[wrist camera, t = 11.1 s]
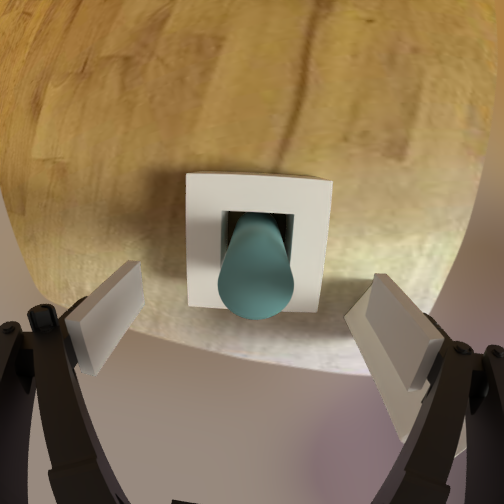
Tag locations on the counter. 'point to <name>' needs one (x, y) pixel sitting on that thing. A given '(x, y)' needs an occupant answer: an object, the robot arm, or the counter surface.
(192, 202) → the socket
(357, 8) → the counter surface
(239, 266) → the peg
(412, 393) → the milk
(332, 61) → the counter surface
